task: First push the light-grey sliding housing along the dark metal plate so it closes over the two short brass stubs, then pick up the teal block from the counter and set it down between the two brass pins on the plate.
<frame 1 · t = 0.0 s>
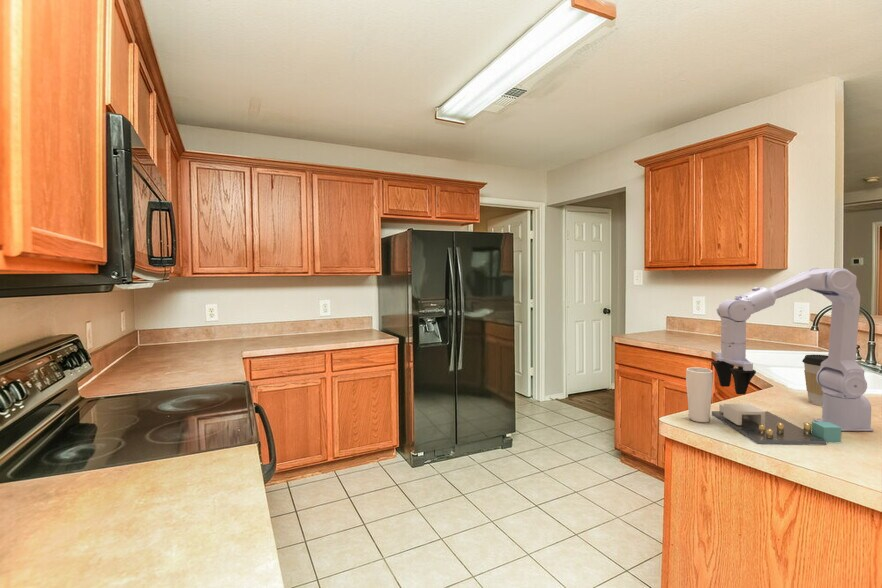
hand: (732, 390, 120), 10 cm above the counter, tool pointing down, fingers open, 7 cm apart
coffee cup: (821, 404, 137), on the counter
drinking glass: (699, 420, 125), on the counter
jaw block: (825, 439, 109), on the counter
base plate: (763, 428, 118), on the counter
housing: (738, 411, 123), point 3 cm above the counter, slide at 0.0 cm
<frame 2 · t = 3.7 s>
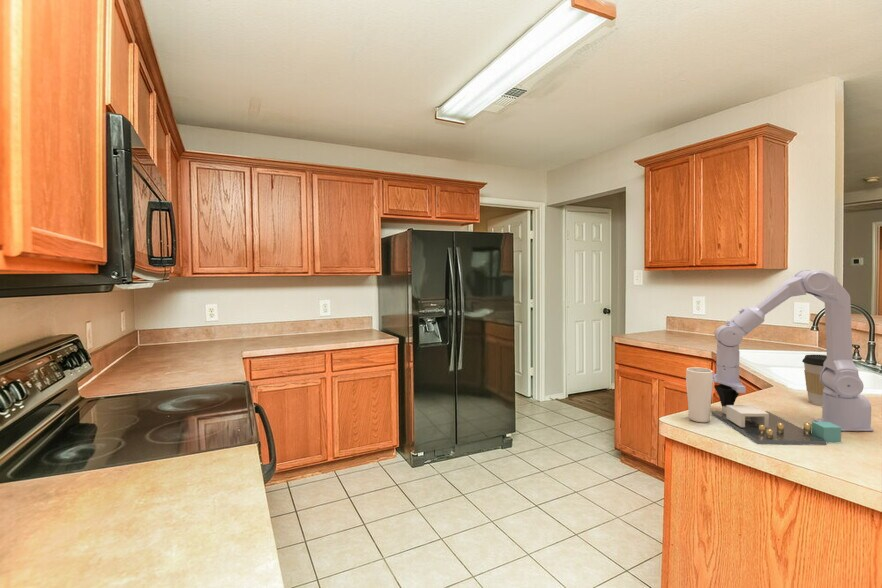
hand: (727, 409, 128), 2 cm above the counter, tool pointing down, fingers closed
housing: (741, 412, 121), point 3 cm above the counter, slide at 1.5 cm, touching gripper
everything else where it was.
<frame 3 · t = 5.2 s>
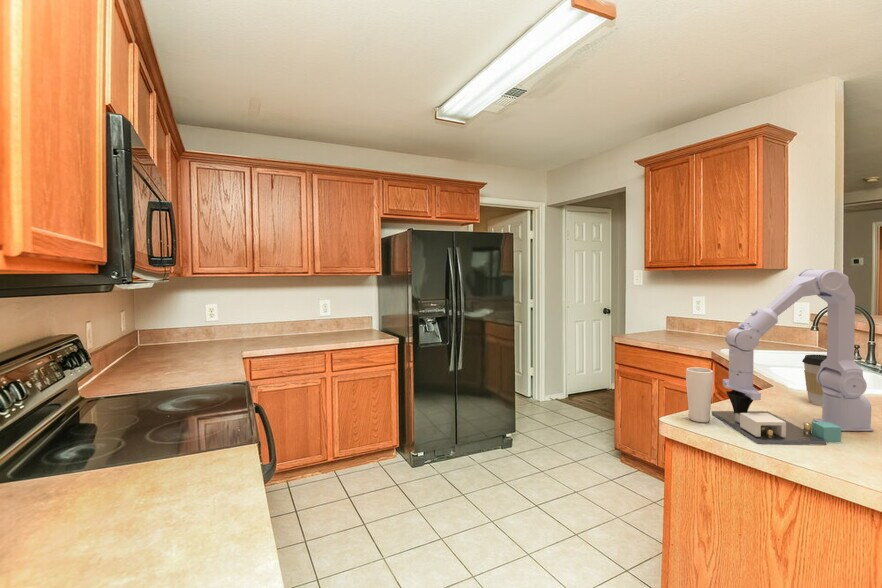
hand: (740, 417, 122), 2 cm above the counter, tool pointing down, fingers closed
housing: (756, 421, 115), point 3 cm above the counter, slide at 8.0 cm, touching gripper
everything else where it was.
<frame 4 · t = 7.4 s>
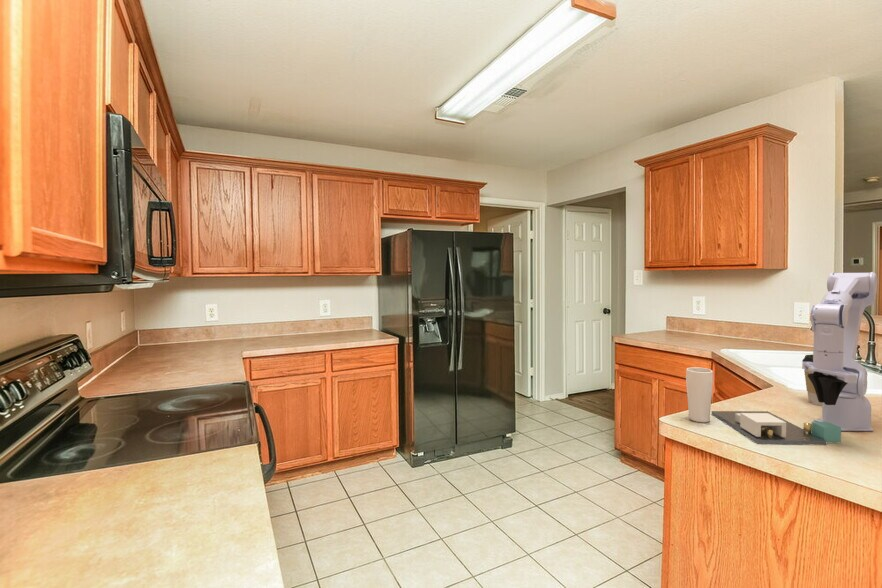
hand: (826, 403, 109), 9 cm above the counter, tool pointing down, fingers closed
housing: (756, 421, 115), point 3 cm above the counter, slide at 8.1 cm
everything else where it was.
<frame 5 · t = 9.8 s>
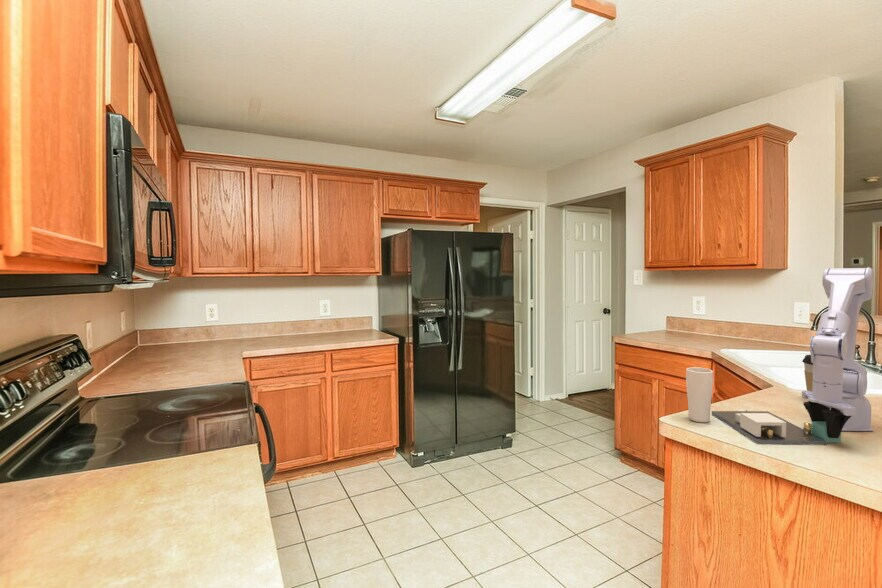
hand: (826, 433, 109), 1 cm above the counter, tool pointing down, fingers closed on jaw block, 4 cm apart
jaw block: (825, 439, 109), on the counter, touching gripper
everything else where it was.
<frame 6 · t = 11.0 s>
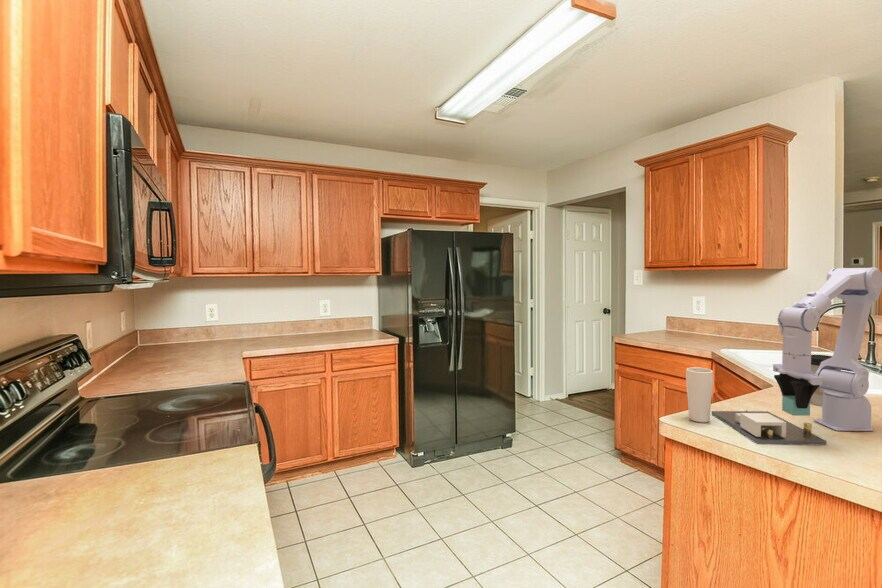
hand: (795, 405, 111), 8 cm above the counter, tool pointing down, fingers closed on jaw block, 4 cm apart
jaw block: (795, 412, 111), point 6 cm above the counter, touching gripper
everything else where it was.
when the fingers open (4 cm above the counter, at t = 12.7 s): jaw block stays where it is, resting on base plate.
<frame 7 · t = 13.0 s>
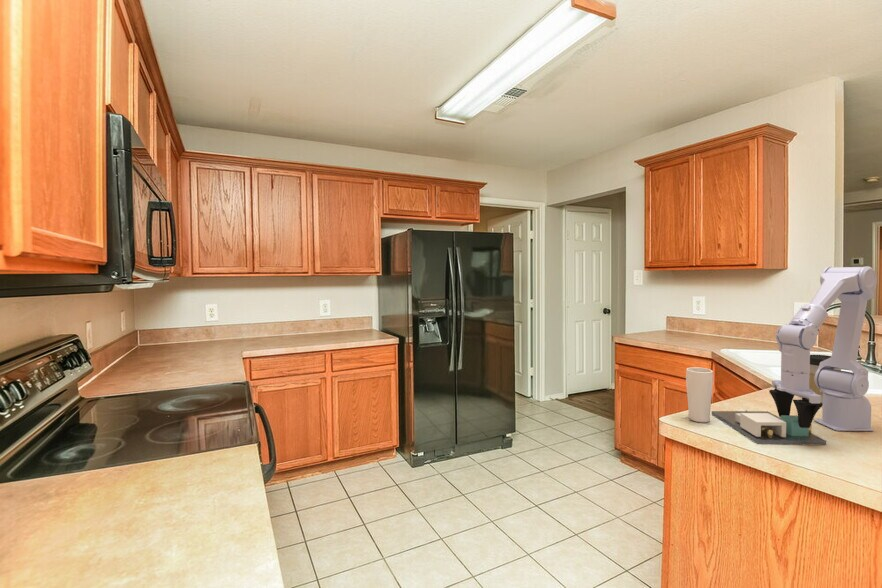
hand: (794, 422, 111), 4 cm above the counter, tool pointing down, fingers open, 7 cm apart
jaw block: (794, 433, 112), point 1 cm above the counter, touching base plate
everything else where it was.
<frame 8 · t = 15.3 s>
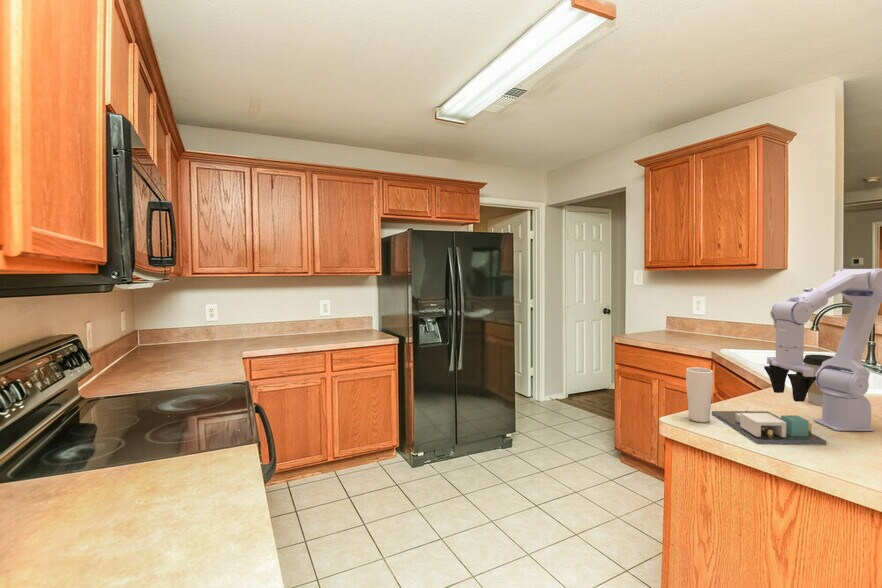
hand: (788, 396, 114), 10 cm above the counter, tool pointing down, fingers open, 7 cm apart
nothing on the counter moved.
at the end: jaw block 0.1 cm from the target spot, point 1.0 cm above the counter; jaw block tilted 0°; housing slide at 8.1 cm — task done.
